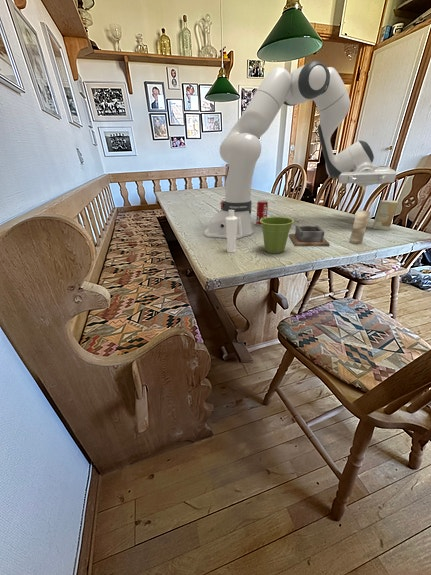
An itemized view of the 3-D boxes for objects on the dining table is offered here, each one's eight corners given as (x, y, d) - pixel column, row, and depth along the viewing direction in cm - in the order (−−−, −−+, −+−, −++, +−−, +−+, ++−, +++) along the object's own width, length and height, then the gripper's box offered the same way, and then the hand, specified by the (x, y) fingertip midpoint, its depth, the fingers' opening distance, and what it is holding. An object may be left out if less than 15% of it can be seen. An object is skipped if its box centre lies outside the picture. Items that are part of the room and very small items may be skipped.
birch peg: (351, 244, 96) (359, 213, 90) (347, 240, 100) (354, 210, 94) (363, 244, 96) (372, 212, 90) (358, 240, 100) (366, 210, 94)
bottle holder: (294, 246, 96) (296, 233, 94) (288, 236, 107) (290, 224, 105) (329, 246, 95) (331, 233, 93) (319, 236, 106) (321, 224, 104)
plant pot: (281, 243, 99) (284, 215, 94) (296, 254, 89) (300, 222, 83) (253, 246, 97) (255, 217, 92) (265, 257, 87) (267, 225, 81)
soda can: (266, 223, 127) (267, 199, 122) (266, 226, 123) (268, 201, 117) (255, 223, 128) (257, 199, 122) (256, 226, 123) (257, 201, 118)
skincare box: (373, 229, 113) (381, 201, 107) (372, 226, 116) (379, 199, 110) (389, 230, 111) (398, 202, 105) (388, 227, 114) (396, 200, 108)
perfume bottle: (229, 253, 91) (229, 212, 84) (223, 250, 94) (223, 210, 87) (239, 251, 93) (240, 210, 85) (233, 248, 96) (234, 208, 89)
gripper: (339, 168, 109) (339, 172, 99) (394, 166, 102) (400, 170, 91) (337, 183, 113) (336, 189, 102) (390, 182, 105) (395, 188, 94)
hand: (367, 180), depth 96 cm, fingers open, 8 cm apart
